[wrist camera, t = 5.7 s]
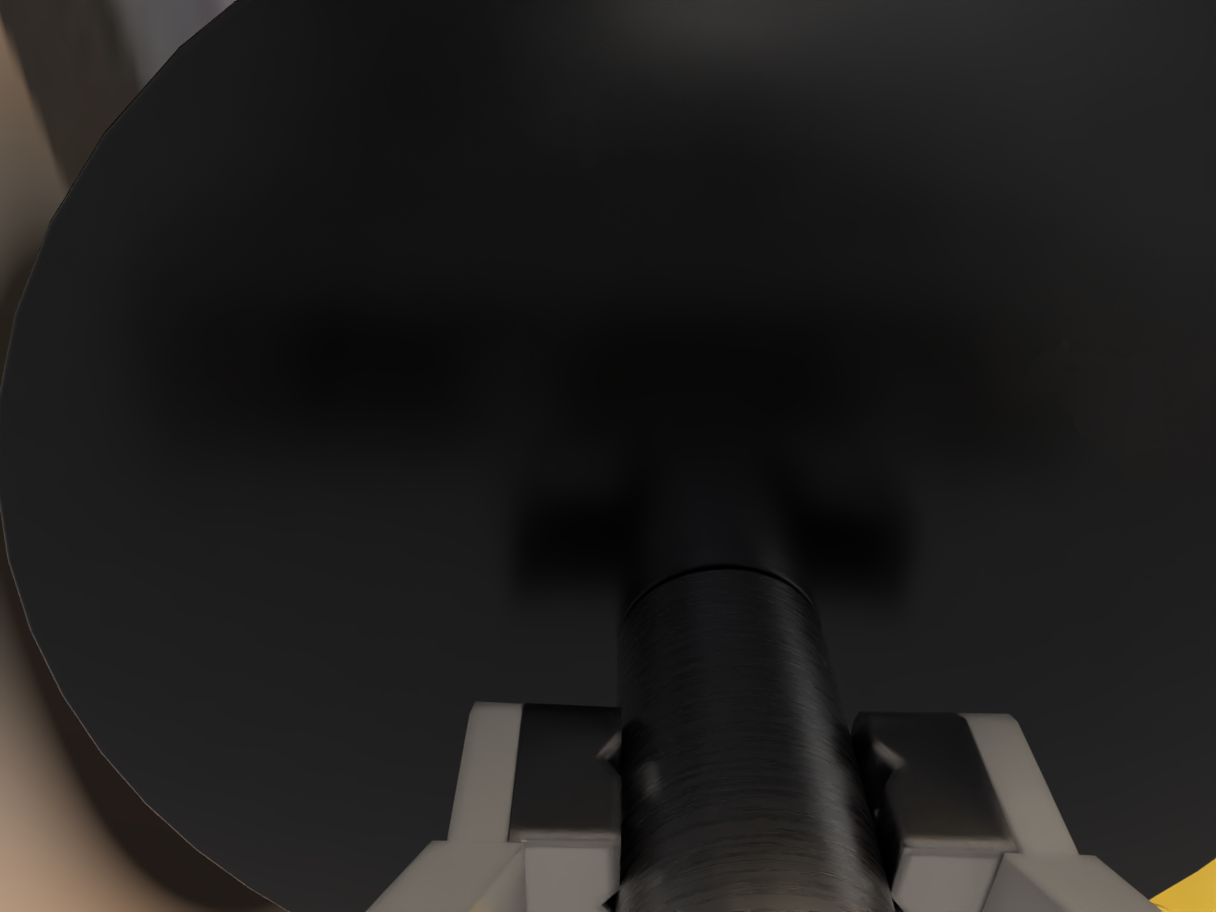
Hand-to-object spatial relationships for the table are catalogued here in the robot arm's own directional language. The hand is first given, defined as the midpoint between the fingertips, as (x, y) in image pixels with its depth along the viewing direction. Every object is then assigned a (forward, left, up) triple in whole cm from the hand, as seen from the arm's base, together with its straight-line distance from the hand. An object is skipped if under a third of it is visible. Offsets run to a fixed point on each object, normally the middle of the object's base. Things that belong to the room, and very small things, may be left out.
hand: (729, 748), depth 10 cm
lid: (0, 0, -2) cm, 2 cm away
